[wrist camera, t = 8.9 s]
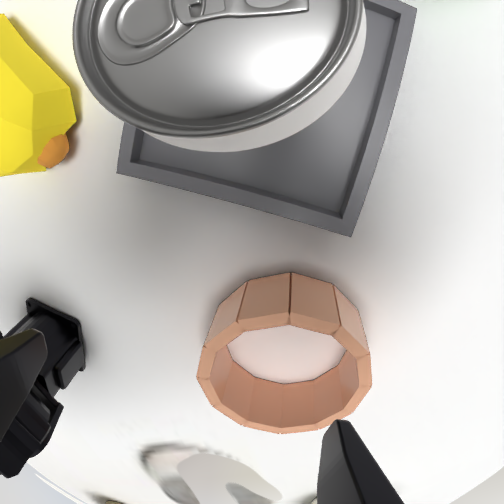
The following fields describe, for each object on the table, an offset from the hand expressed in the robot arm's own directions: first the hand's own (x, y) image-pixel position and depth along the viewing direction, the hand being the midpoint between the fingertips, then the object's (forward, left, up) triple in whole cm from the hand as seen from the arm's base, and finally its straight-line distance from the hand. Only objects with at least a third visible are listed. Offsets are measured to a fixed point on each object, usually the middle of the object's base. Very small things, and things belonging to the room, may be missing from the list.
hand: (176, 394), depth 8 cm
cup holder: (+5, -7, -13) cm, 15 cm away
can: (-1, +9, -12) cm, 15 cm away
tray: (-1, +9, -13) cm, 16 cm away
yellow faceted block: (-20, +7, -13) cm, 25 cm away
